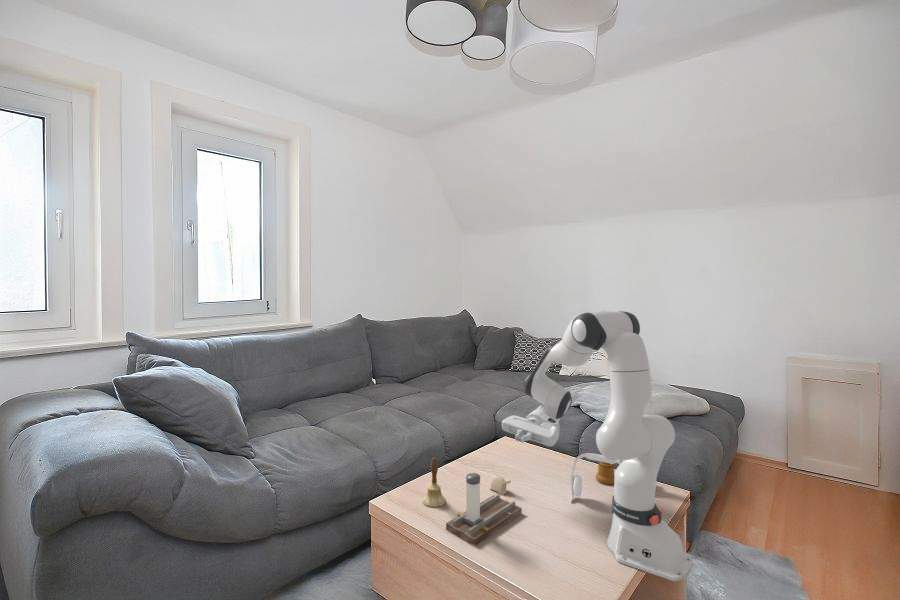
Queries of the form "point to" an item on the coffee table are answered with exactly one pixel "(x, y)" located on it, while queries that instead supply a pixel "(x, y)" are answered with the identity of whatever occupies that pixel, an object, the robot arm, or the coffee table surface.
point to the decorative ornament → (499, 485)
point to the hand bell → (434, 489)
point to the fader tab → (472, 499)
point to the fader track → (485, 520)
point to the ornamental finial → (605, 473)
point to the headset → (577, 481)
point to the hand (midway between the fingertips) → (518, 439)
